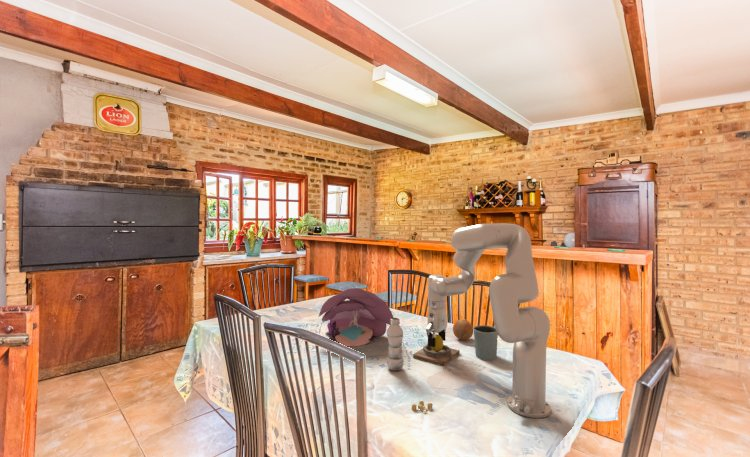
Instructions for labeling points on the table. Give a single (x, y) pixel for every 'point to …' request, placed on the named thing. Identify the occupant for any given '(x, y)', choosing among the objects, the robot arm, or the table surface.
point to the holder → (436, 355)
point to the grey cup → (485, 342)
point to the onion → (463, 329)
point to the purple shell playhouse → (355, 316)
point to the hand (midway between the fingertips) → (436, 343)
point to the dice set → (421, 404)
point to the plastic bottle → (395, 345)
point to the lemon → (438, 343)
